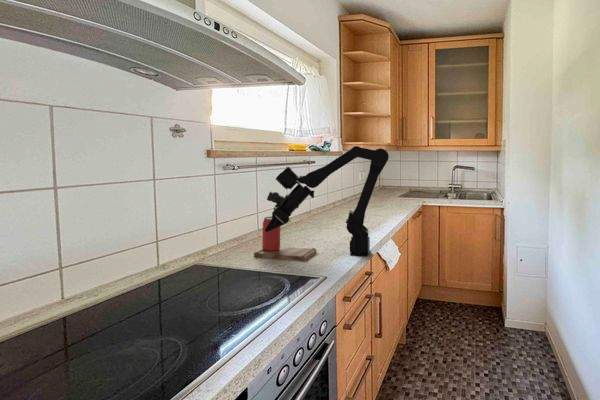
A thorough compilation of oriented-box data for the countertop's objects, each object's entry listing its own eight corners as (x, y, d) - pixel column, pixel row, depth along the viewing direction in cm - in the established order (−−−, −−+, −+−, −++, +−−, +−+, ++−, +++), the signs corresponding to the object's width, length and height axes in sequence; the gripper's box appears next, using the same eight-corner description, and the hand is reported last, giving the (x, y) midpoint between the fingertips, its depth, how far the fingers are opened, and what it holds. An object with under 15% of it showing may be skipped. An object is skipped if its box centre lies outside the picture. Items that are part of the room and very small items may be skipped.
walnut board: (316, 252, 157) (316, 248, 157) (305, 260, 146) (305, 255, 146) (268, 249, 164) (267, 244, 164) (253, 256, 153) (253, 252, 153)
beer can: (283, 248, 159) (283, 217, 157) (273, 252, 153) (274, 220, 151) (268, 246, 162) (269, 215, 160) (258, 250, 156) (259, 218, 154)
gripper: (280, 181, 164) (252, 210, 165) (278, 185, 145) (247, 218, 146) (300, 201, 165) (273, 229, 166) (301, 207, 146) (271, 239, 147)
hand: (266, 228), depth 156 cm, fingers open, 9 cm apart
